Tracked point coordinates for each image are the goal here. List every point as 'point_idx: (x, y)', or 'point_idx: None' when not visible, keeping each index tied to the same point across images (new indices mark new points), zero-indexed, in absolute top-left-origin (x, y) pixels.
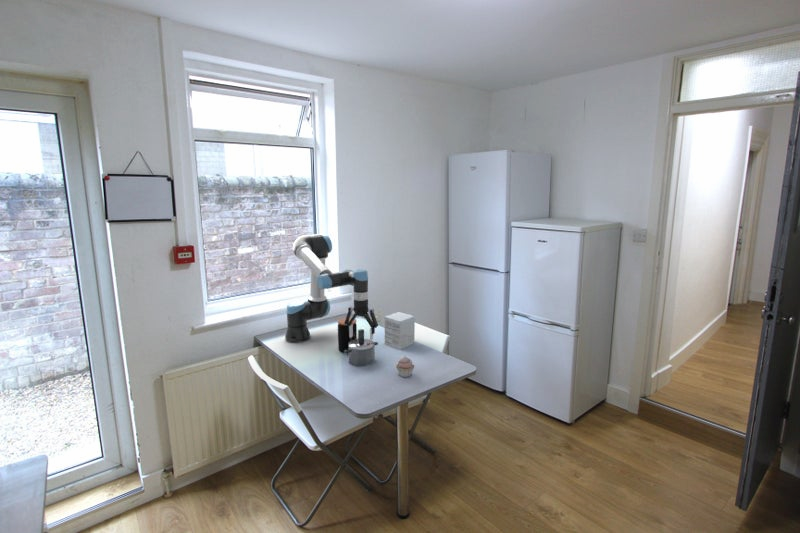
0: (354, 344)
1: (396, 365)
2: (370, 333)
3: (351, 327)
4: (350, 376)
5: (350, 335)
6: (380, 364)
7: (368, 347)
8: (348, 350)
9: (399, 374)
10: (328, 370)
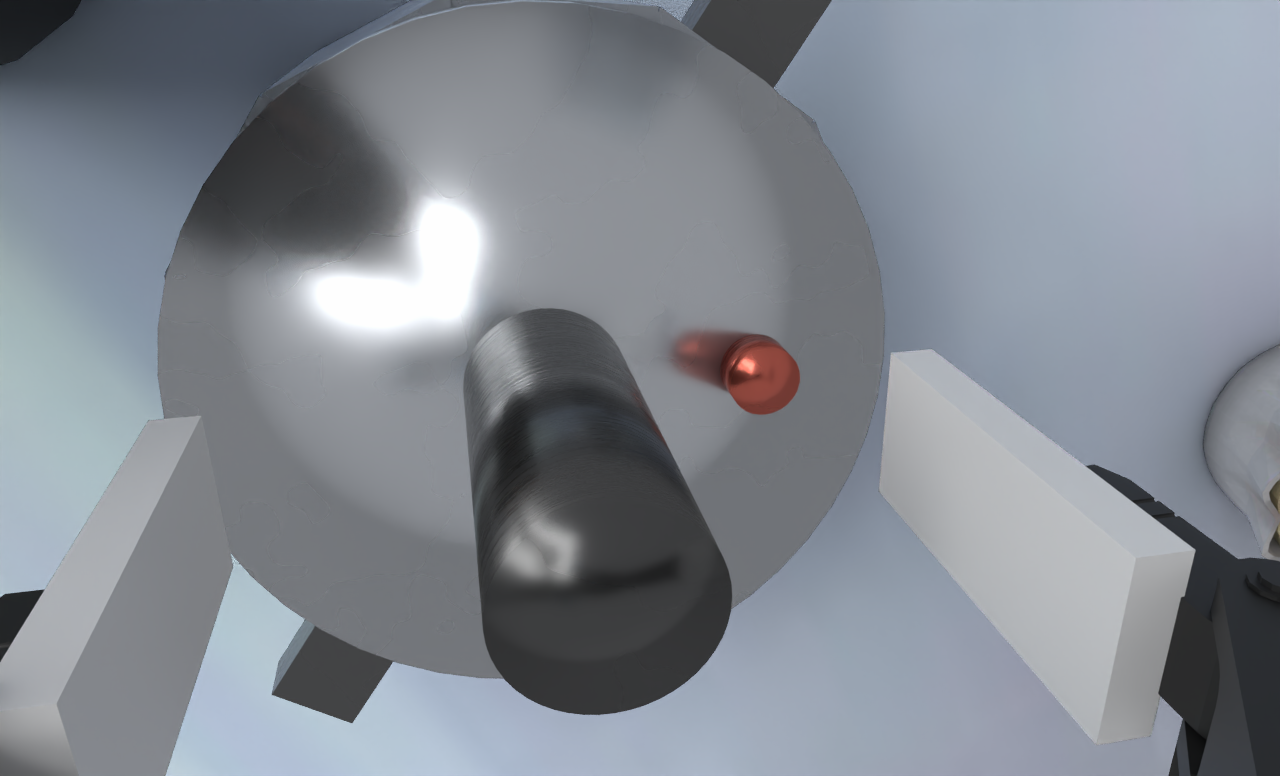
0: (408, 512)
1: (1264, 502)
2: (1004, 612)
3: (128, 757)
4: (600, 742)
5: (207, 612)
6: (879, 252)
7: (816, 518)
8: (378, 668)
9: (1233, 502)
10: (194, 749)
